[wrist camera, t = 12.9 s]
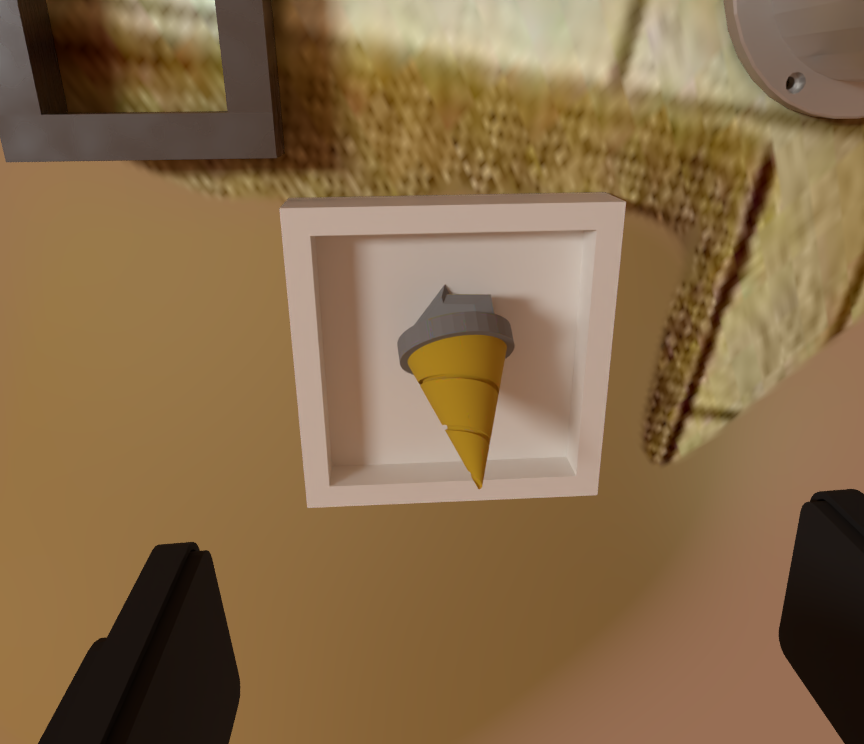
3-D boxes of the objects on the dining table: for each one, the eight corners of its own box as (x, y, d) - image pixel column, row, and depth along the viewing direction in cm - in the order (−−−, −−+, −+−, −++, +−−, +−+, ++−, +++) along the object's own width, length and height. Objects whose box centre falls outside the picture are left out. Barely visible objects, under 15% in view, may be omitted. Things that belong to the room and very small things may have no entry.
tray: (605, 192, 32) (626, 201, 30) (581, 465, 38) (597, 494, 35) (288, 198, 32) (279, 208, 29) (313, 476, 37) (307, 507, 35)
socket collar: (258, -141, 27) (247, -163, 24) (284, 153, 31) (276, 158, 29) (-32, -144, 26) (-73, -167, 24) (34, 156, 30) (6, 162, 28)
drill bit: (520, 278, 33) (563, 478, 30) (434, 318, 36) (464, 505, 33) (457, 241, 29) (499, 467, 26) (366, 289, 32) (392, 499, 28)
